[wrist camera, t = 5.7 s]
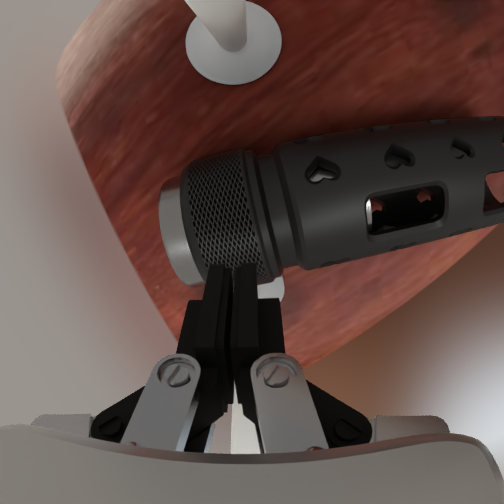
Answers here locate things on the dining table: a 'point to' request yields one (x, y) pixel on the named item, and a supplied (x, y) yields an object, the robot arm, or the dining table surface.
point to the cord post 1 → (232, 40)
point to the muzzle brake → (332, 197)
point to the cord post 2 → (241, 426)
